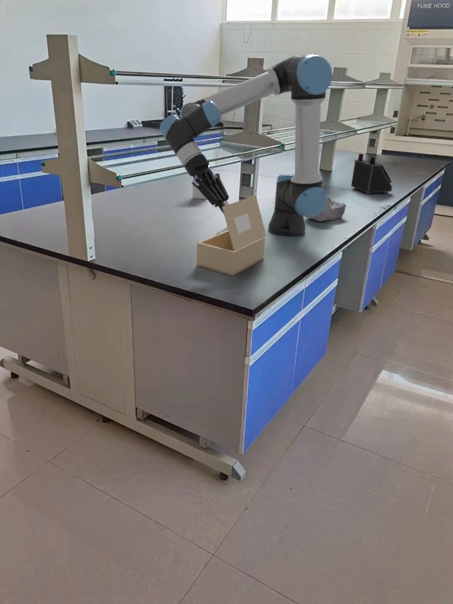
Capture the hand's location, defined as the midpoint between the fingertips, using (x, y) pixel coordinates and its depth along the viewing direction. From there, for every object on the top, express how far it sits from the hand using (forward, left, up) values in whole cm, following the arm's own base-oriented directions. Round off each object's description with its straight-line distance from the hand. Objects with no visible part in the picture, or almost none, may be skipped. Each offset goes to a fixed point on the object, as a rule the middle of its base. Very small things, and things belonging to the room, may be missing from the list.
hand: (233, 219), depth 158 cm
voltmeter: (-136, -64, -15) cm, 151 cm away
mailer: (0, 0, -15) cm, 15 cm away
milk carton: (-36, -85, -15) cm, 94 cm away
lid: (-2, +4, 0) cm, 4 cm away
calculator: (-17, -22, -16) cm, 32 cm away
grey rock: (-70, -31, -15) cm, 78 cm away
